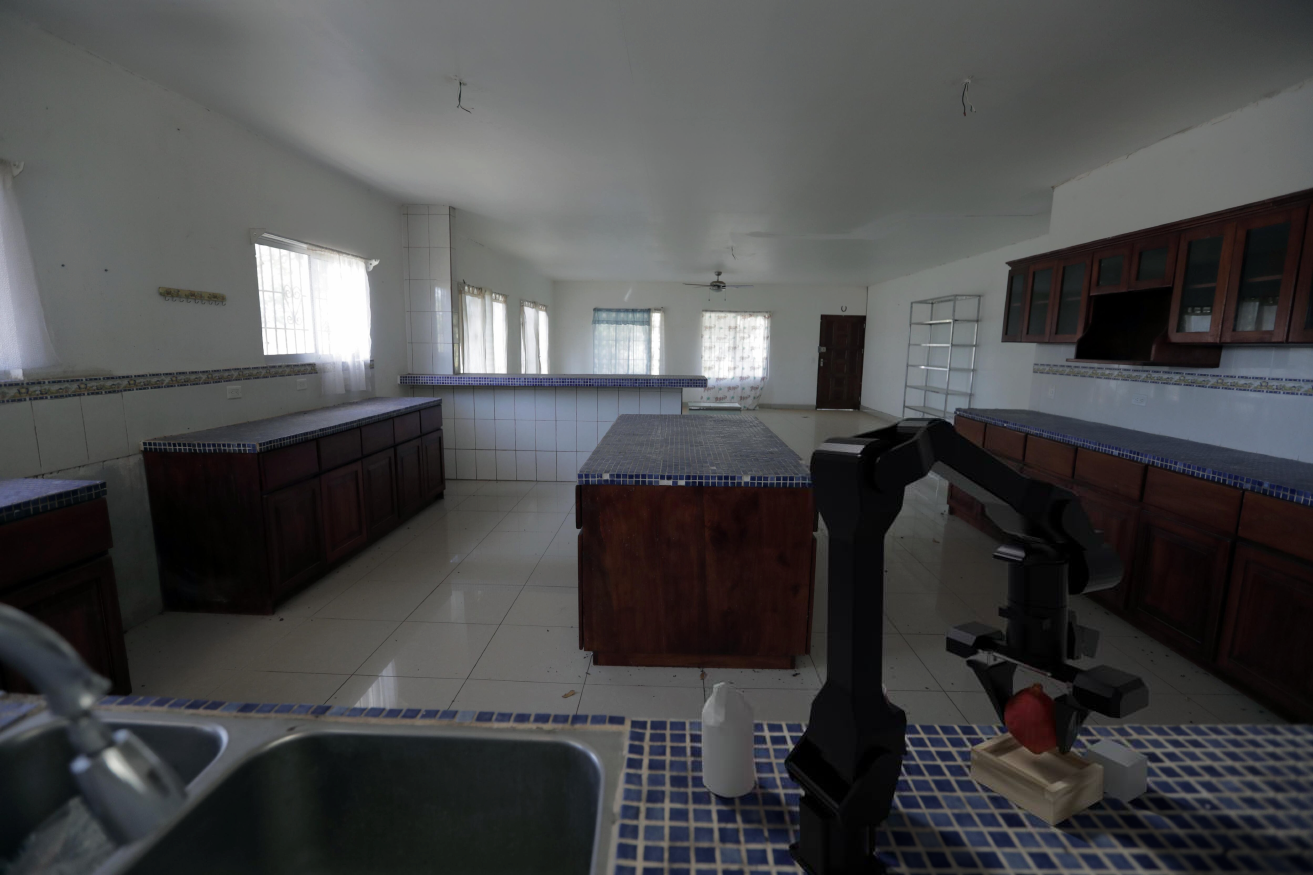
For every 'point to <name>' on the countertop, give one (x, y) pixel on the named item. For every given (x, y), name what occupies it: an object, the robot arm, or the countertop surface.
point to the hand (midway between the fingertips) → (1034, 739)
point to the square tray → (1037, 778)
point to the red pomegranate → (1032, 719)
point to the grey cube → (1120, 769)
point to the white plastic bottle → (728, 743)
